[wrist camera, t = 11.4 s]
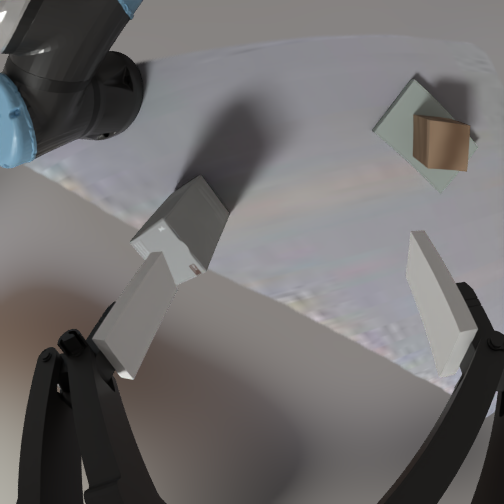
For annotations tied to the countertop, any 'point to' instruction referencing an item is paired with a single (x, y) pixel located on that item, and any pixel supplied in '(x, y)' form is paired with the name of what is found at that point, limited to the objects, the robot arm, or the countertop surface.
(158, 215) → the skincare box
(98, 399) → the robot arm
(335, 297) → the countertop surface
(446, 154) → the cardboard shipping box
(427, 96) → the pale green flat panel
